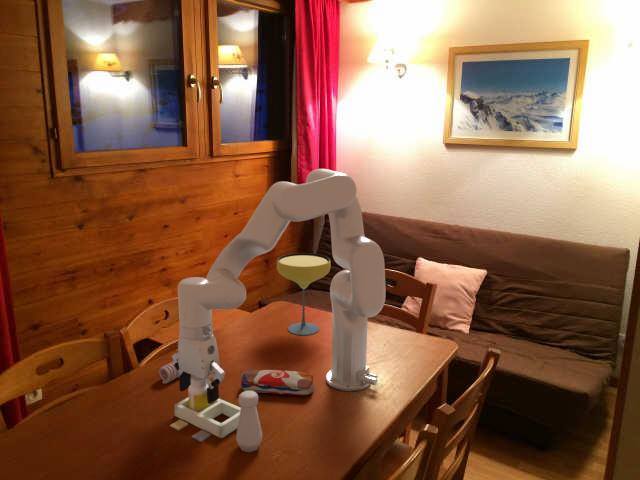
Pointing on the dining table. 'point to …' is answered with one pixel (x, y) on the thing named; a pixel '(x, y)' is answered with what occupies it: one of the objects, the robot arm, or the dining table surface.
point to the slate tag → (201, 435)
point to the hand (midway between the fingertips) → (199, 394)
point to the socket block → (210, 416)
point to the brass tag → (179, 425)
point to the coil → (168, 373)
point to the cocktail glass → (303, 280)
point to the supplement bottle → (198, 394)
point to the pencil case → (278, 382)
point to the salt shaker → (248, 422)
